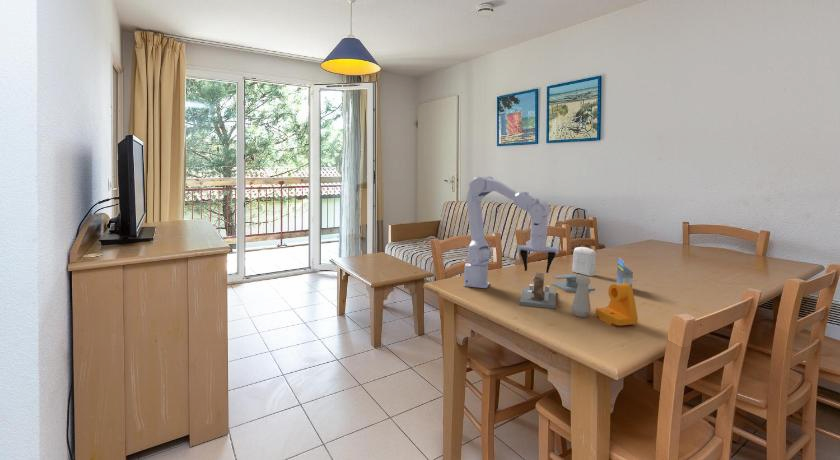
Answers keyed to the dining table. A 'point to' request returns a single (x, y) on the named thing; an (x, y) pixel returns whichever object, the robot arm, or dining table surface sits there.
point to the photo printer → (584, 261)
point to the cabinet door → (538, 286)
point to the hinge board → (546, 302)
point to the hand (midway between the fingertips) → (536, 271)
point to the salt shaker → (582, 297)
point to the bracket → (619, 306)
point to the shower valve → (568, 283)
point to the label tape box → (624, 274)
